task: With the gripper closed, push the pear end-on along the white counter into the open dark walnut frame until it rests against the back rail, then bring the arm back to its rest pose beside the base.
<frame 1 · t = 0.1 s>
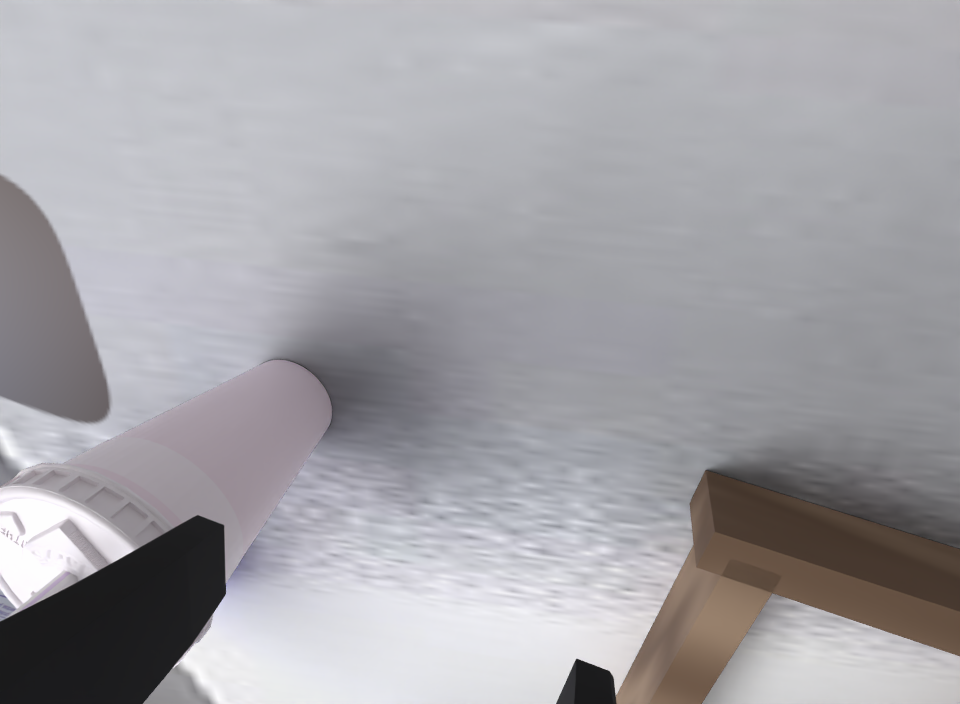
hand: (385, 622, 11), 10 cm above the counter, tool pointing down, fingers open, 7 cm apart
smoothie: (292, 399, 23), on the counter
walnut frame: (840, 672, 21), on the counter
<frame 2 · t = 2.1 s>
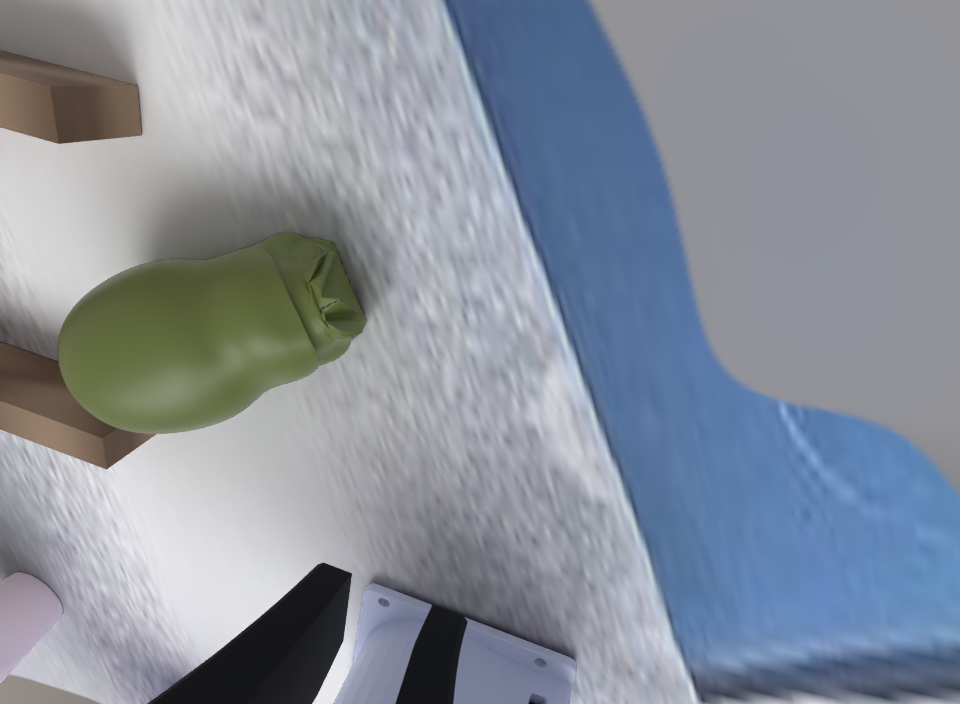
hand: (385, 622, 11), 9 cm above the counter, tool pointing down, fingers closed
smoothie: (39, 593, 33), on the counter
walnut frame: (19, 240, 22), on the counter
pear: (264, 306, 21), on the counter
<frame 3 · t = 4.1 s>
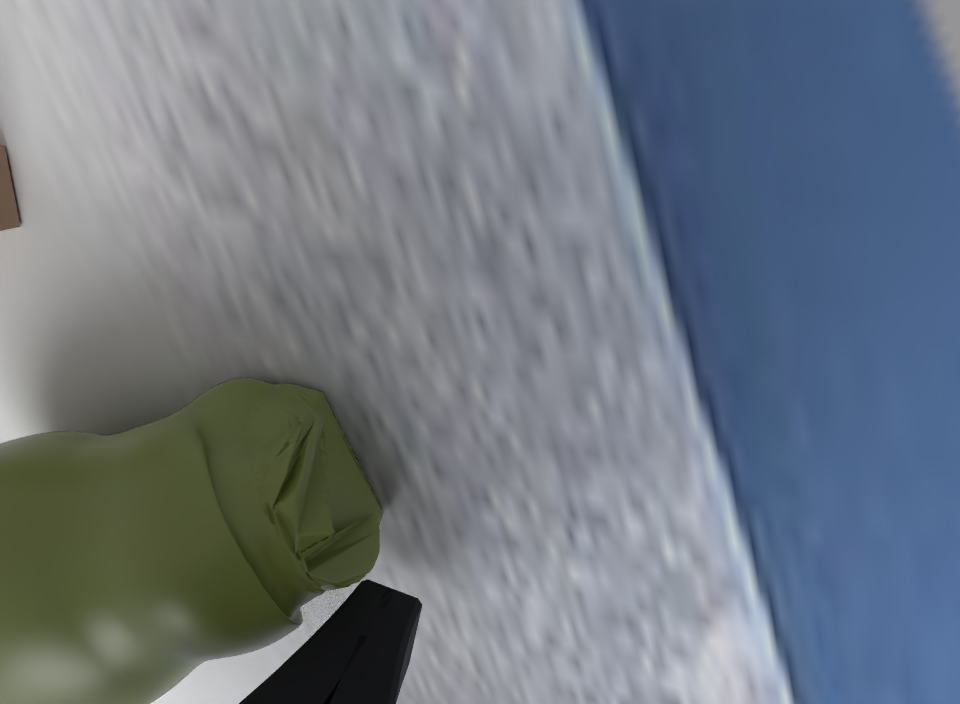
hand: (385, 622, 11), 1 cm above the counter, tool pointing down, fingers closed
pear: (218, 473, 13), on the counter, touching gripper
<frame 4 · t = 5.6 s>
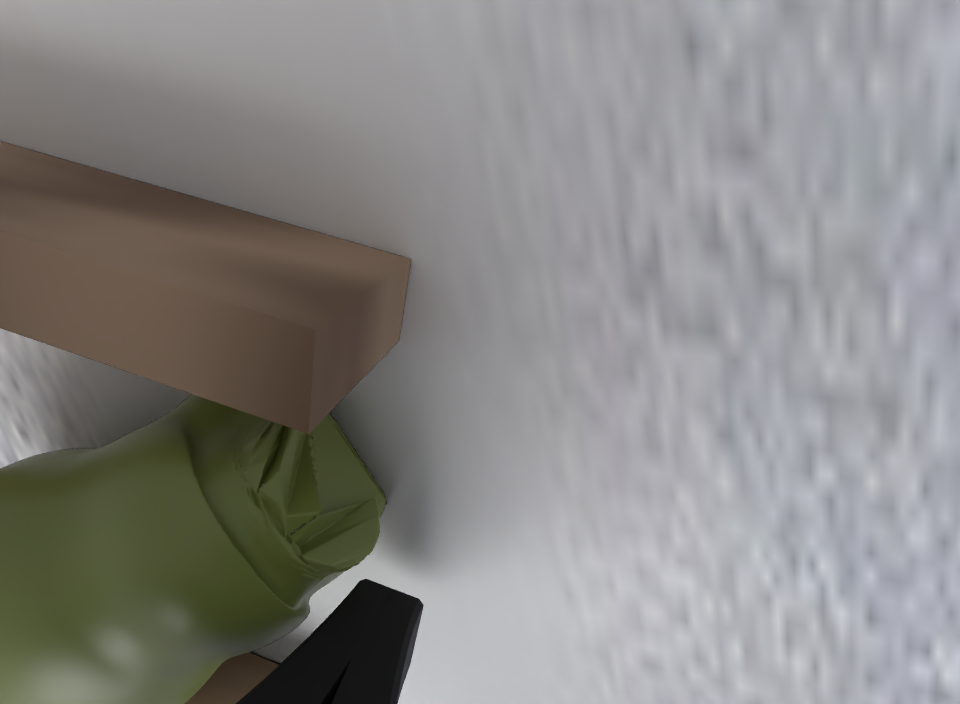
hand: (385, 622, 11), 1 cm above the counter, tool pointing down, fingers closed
walnut frame: (130, 463, 13), on the counter
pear: (224, 482, 13), on the counter, touching gripper
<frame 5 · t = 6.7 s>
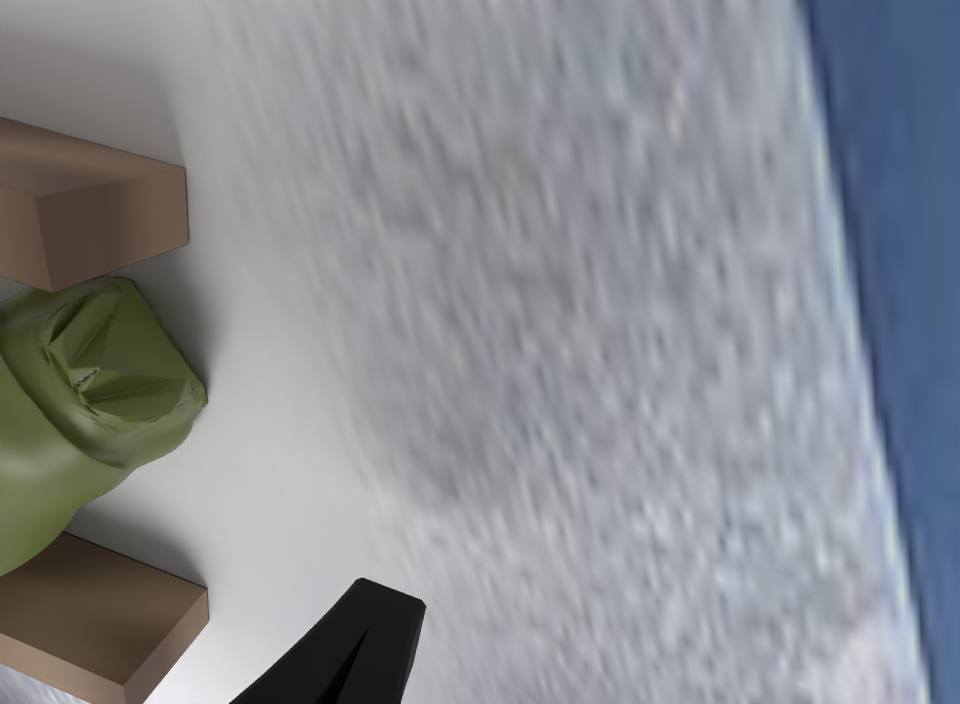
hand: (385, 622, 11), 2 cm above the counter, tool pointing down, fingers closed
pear: (85, 385, 15), on the counter
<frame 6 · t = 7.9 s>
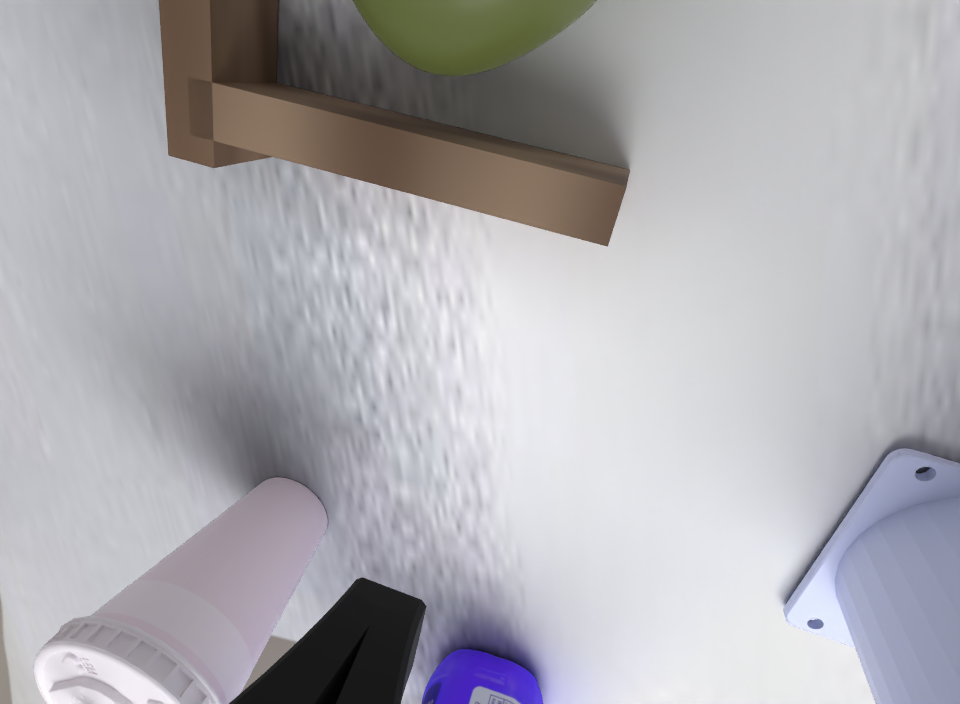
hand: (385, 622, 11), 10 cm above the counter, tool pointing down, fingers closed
smoothie: (293, 507, 26), on the counter
bottle: (489, 686, 28), on the counter
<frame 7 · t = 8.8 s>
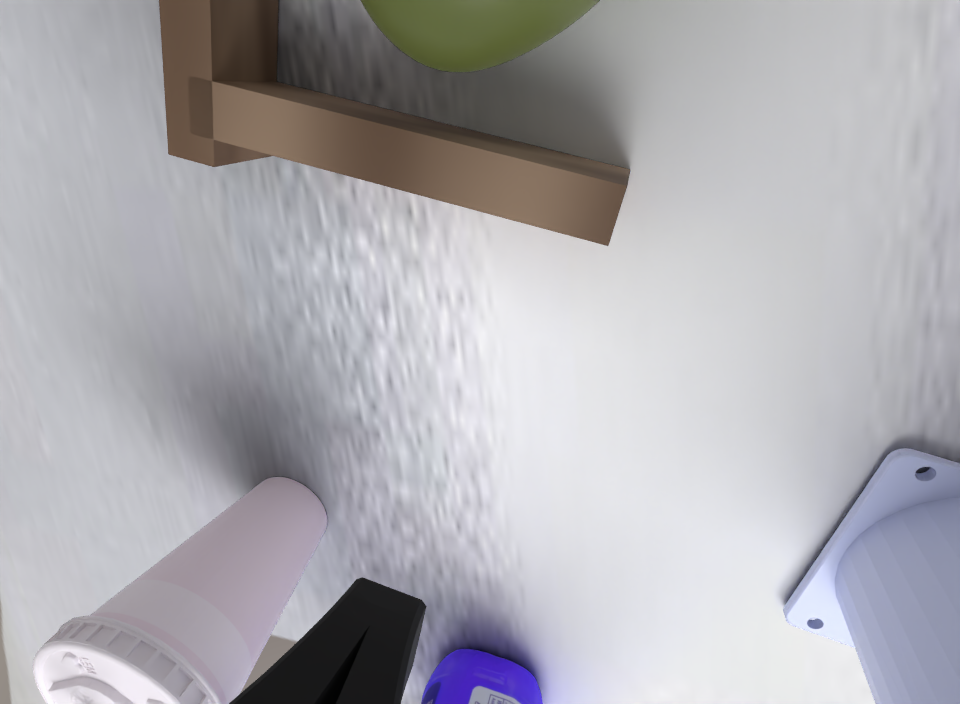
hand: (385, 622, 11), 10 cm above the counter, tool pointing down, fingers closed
smoothie: (293, 507, 26), on the counter
bottle: (489, 686, 28), on the counter
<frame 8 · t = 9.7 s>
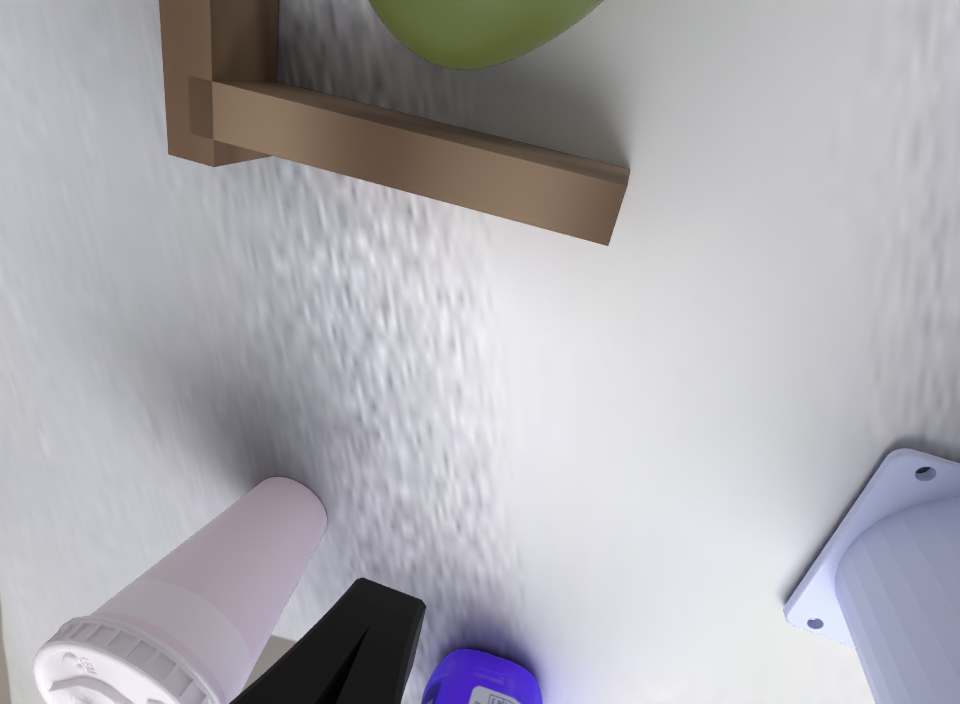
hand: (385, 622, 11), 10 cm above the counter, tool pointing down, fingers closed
smoothie: (293, 507, 26), on the counter
bottle: (489, 686, 28), on the counter
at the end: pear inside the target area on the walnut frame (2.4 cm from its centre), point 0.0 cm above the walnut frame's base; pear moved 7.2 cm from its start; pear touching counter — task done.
